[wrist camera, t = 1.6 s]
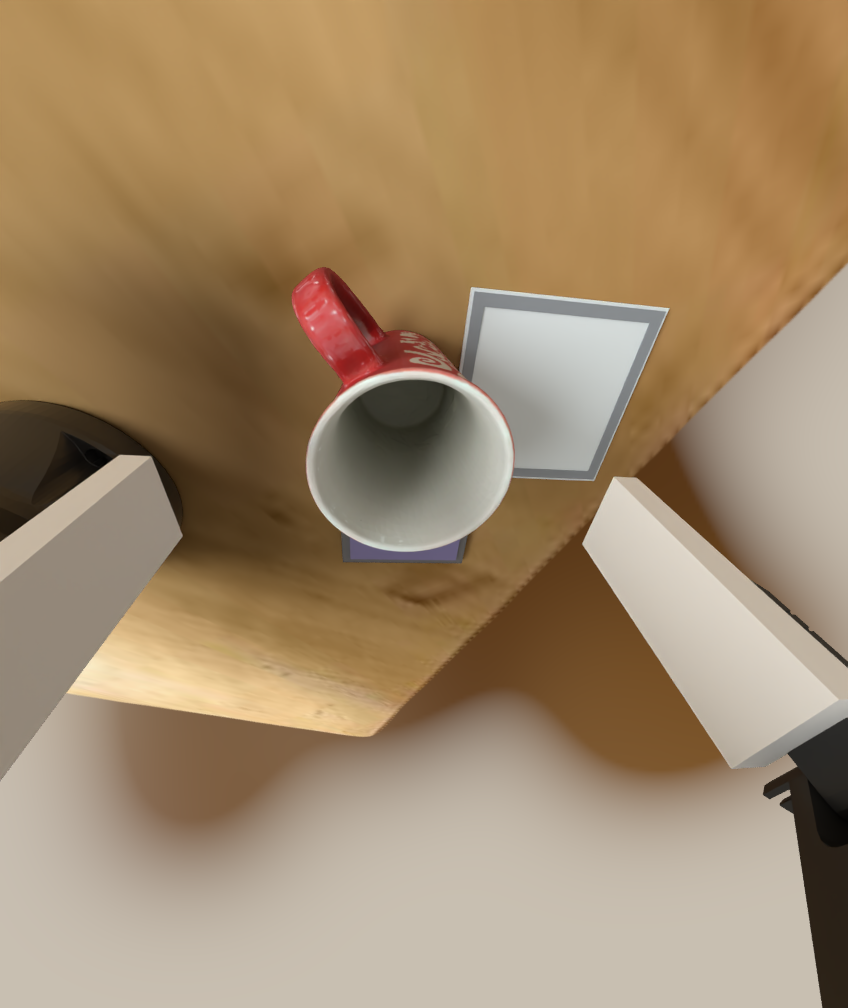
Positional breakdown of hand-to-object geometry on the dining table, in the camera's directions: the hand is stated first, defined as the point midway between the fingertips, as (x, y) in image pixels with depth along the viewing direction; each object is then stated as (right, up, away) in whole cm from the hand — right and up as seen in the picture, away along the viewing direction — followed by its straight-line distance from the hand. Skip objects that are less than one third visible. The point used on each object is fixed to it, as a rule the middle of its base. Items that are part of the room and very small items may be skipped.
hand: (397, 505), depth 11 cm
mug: (-2, +10, +15) cm, 18 cm away
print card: (+10, +8, +17) cm, 21 cm away
